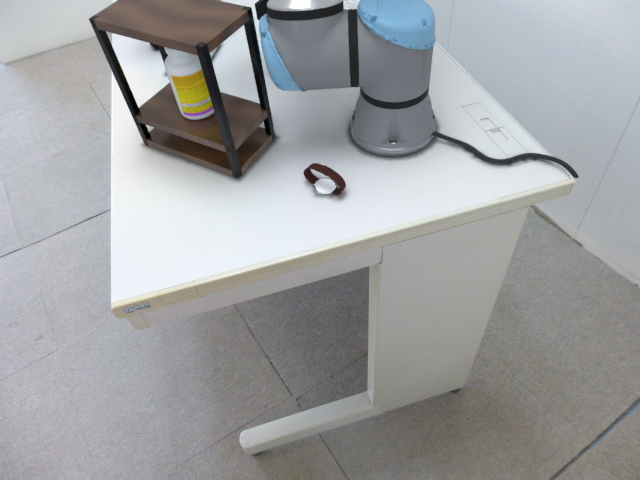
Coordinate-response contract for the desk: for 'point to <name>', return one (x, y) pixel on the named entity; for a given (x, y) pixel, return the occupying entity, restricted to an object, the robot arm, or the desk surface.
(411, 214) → the desk surface
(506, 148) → the desk surface
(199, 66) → the supplement bottle
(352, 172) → the desk surface
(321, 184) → the watch
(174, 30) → the rack
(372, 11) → the robot arm
